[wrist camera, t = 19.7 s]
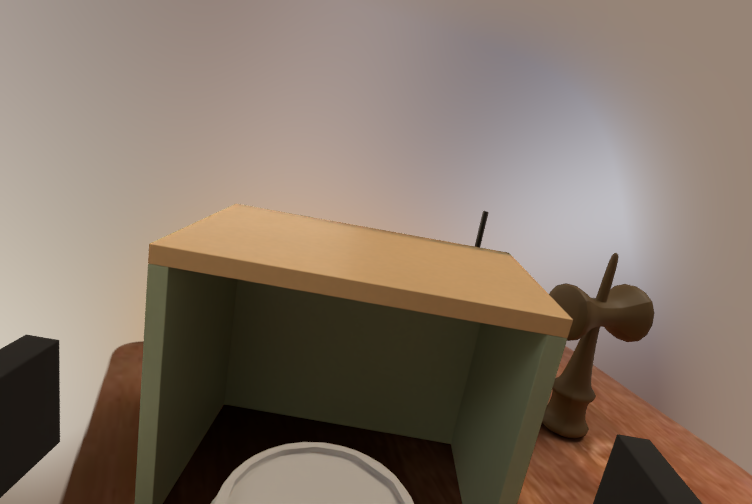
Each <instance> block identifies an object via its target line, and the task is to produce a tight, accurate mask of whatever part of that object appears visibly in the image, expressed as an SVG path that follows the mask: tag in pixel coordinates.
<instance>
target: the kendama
mask: <svg viewBox="0 0 752 504" xmlns="http://www.w3.org/2000/svg"><path fill="white" fill-rule="evenodd" d="M617 263H618V254H617V253H614V254H613V255H612V257H611V259H610V261H609V263H608V266H607V269H606V271H605V274H604V277H603V280H602V283H601V286H600V288H599V291H598V294H597V297H596V298H590V297H589V296H588V295H587V294H586V293H585V292H584V291H582V290H581V289H580V288H578V287H577V286H574V285H570V284H561V285H557V286H556V287H555V288H554V289H553V290H552V291H551V292H550V294H549V295H550V296H551V297H552V298H553V299H554V300H555V301H556V303H557V304H558V305H559V306H560V307H561V308H562V309H563V310H564V311H565V312H566V313H567V314H568V315H569V316H570V317H571V318H572V319H573V322H572V325H571V328H570V331H569V335H568V338H567V340H568V341H570V340H578V339H580V341H579V343H578V345H577V347H576V349H575V351H574V353H573V355H572V357H571V359H570V361H569V363H568V364H567V366H566V368H565V370H564V371H563V373H562V374H561V375H560V376H559V377H558V378H555V381H554V384H553V387H552V389H553V393H552V397H551V400H550V402H549V404H548V405H547V407H546V410H545V413H544V417H543V420H542V423H543V424H544V425H545V427H547V428H548V429H550V430H551V431H552V432H555V433H557V434H559V435H561V436H565V437H568V438H579V437H582V436H585V435H586V434H587V432H588V430H589V429H588V426H587V424H586V421H585V414H586V409H587V406H588V404H589V403H590V402H592V401H593V400H594V399H595V397H596V396H595V393H594V391H593V390H592V388H591V375H592V367H593V360H594V353H595V347H596V343H597V338H598V333H599V328H600V327H601V326H603V327H605V329H606V330H607V331H608V332H609V333H611V334H612V335H613V336H615V337H616V338H618V339H620V340H623V341H626V342H633V341H639V340H641V339H642V338H643V337H645V336H646V335H647V334H648V332H649V330H650V328H651V326H652V323H653V318H654V309H653V304H652V301H651V300H650V298H649V297H648V295H647V294H646V293H645V292H644V291H642V290H640V289H639V288H637V287H635V286H630V285H627V284H623V285H617V286H614V287H613V288H612V289H611V290H610V288H611V285H612V281H613V278H614V274H615V271H616V267H617Z"/></svg>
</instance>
